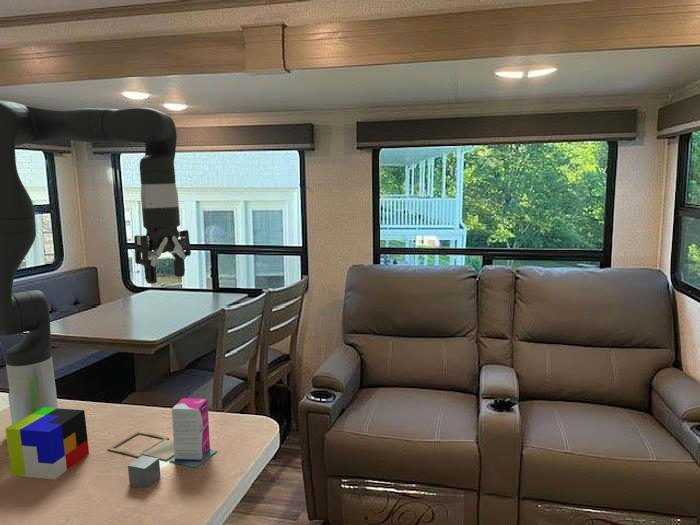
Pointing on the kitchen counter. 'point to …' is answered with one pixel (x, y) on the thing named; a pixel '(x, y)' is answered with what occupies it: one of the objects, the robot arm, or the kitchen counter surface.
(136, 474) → the cube
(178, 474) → the kitchen counter surface
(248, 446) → the kitchen counter surface
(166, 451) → the track
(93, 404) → the kitchen counter surface
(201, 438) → the supplement box
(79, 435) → the puzzle toy
